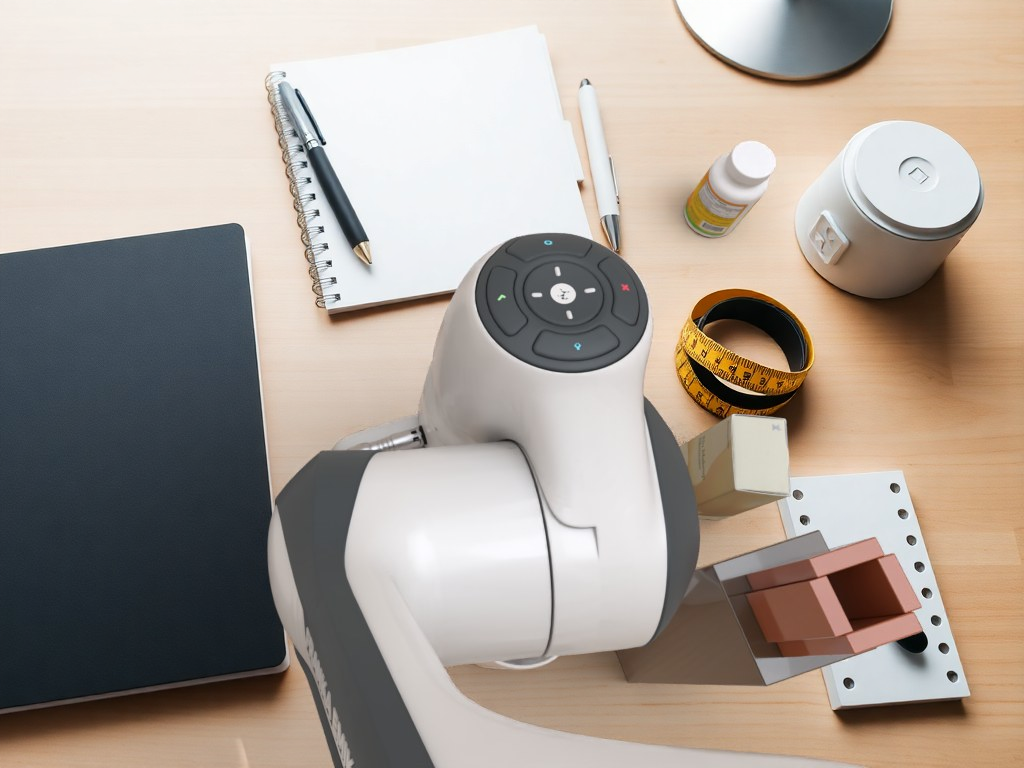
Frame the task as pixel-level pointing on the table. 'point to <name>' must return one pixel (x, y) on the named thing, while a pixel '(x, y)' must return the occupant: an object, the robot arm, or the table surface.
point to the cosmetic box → (738, 465)
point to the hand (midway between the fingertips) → (463, 466)
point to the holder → (779, 615)
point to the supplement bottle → (730, 189)
